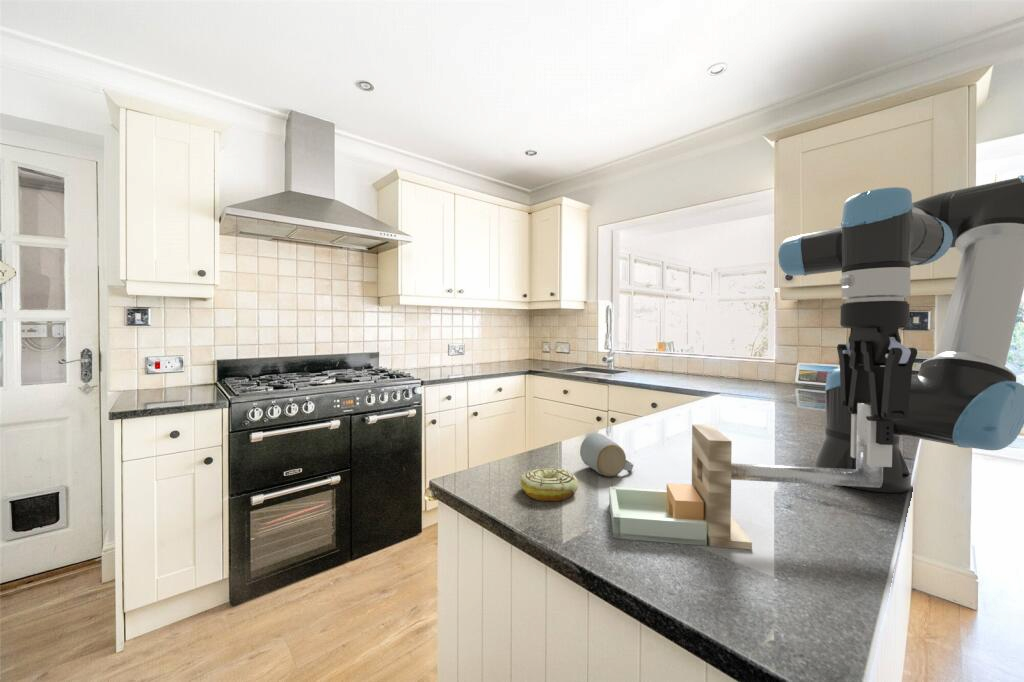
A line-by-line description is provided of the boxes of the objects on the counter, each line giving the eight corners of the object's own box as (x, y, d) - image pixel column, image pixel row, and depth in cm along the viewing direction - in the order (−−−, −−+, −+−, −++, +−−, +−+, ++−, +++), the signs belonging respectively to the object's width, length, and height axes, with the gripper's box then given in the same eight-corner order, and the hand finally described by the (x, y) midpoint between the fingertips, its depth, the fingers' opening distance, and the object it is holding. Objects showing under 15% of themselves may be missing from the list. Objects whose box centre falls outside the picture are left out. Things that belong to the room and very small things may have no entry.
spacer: (691, 511, 69) (692, 484, 69) (703, 531, 62) (703, 502, 62) (666, 509, 70) (666, 483, 70) (675, 529, 63) (675, 500, 63)
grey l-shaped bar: (873, 483, 62) (875, 402, 62) (887, 491, 59) (889, 406, 59) (712, 474, 66) (713, 398, 66) (718, 481, 63) (719, 402, 63)
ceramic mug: (597, 480, 86) (598, 443, 85) (579, 468, 93) (579, 433, 93) (641, 475, 89) (642, 439, 89) (620, 463, 97) (620, 430, 96)
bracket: (724, 512, 70) (725, 424, 70) (751, 549, 59) (753, 443, 58) (690, 509, 71) (690, 423, 71) (710, 546, 60) (711, 442, 59)
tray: (687, 509, 72) (687, 491, 71) (706, 545, 60) (706, 523, 60) (609, 504, 74) (609, 486, 74) (613, 538, 62) (613, 516, 62)
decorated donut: (588, 498, 77) (588, 478, 77) (536, 508, 73) (536, 487, 73) (560, 479, 87) (560, 461, 87) (513, 487, 82) (512, 468, 82)
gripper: (815, 304, 69) (812, 445, 70) (882, 297, 53) (878, 479, 54) (866, 303, 67) (863, 447, 68) (951, 296, 52) (946, 483, 52)
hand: (870, 461), depth 61 cm, fingers closed on grey l-shaped bar, 3 cm apart
